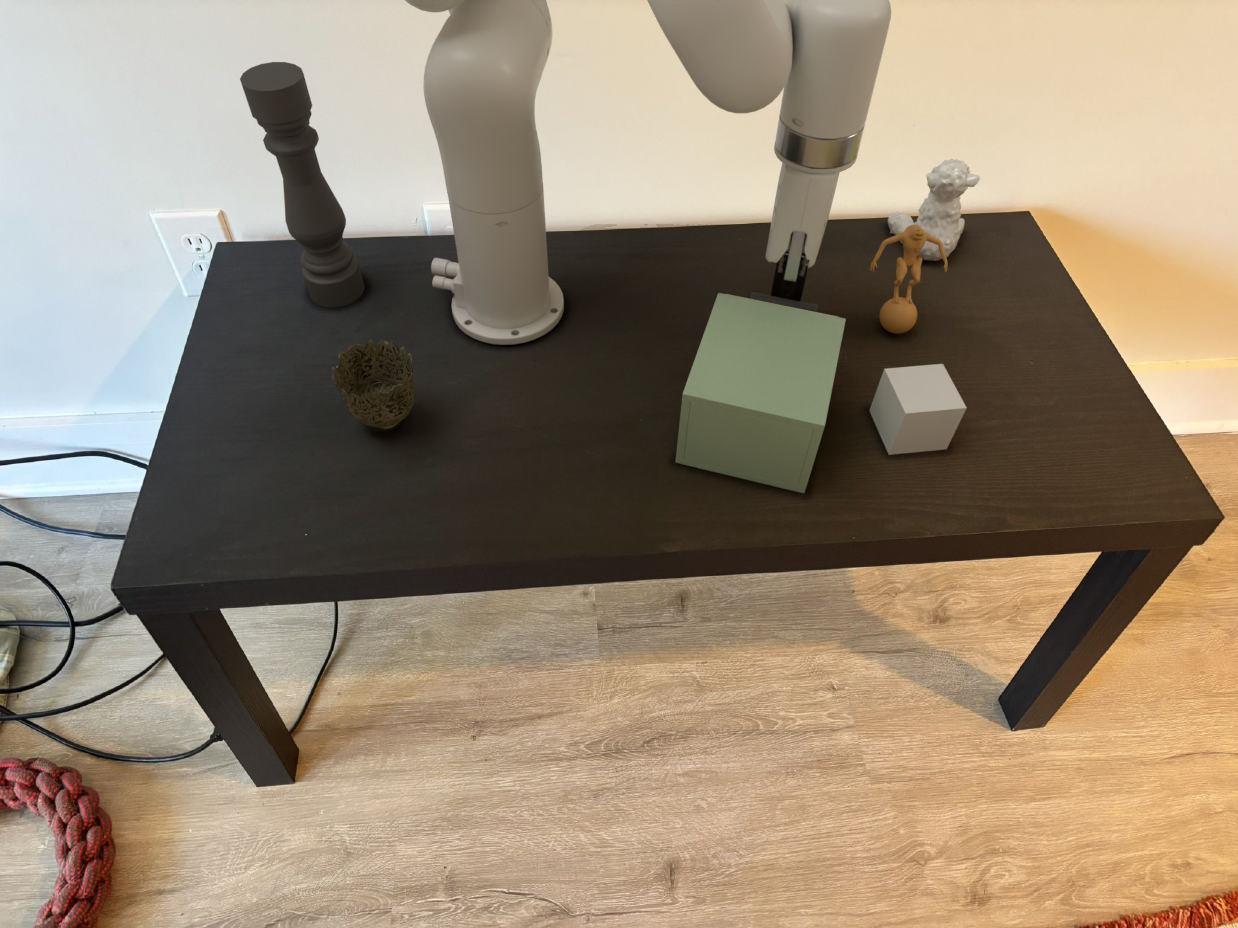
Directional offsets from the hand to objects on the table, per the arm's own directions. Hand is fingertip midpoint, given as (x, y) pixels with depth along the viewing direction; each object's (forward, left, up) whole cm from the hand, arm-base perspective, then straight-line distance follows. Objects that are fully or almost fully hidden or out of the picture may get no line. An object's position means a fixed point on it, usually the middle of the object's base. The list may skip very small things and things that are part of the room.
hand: (785, 297), depth 90 cm
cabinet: (0, -14, -5) cm, 15 cm away
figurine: (+12, +6, -5) cm, 14 cm away
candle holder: (-50, -8, -5) cm, 51 cm away
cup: (-35, -25, -5) cm, 43 cm away
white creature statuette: (+15, +22, -5) cm, 27 cm away
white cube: (+15, -10, -5) cm, 19 cm away
